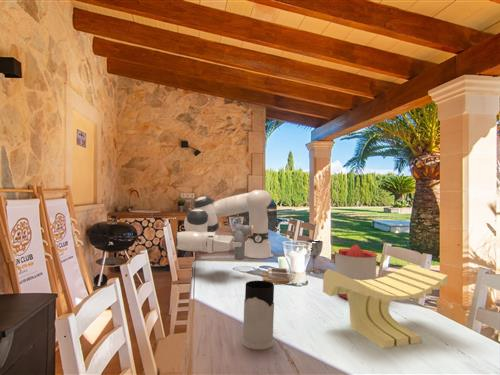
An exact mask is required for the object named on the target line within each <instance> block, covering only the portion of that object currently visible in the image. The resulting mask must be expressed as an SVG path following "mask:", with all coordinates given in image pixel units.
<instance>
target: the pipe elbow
mask: <svg viewBox="0 0 500 375" xmlns="http://www.w3.org/2000/svg"><path fill="white" fill-rule="evenodd" d="M248 235H251V236H253V225H248V224H239V225H238V224H237V226H236V228H235V235H234V237H235V238H234V239H235V242H242V246H241V247H234V260H236V261H244V260H245V257H246V256H245V242H246V236H248Z"/></svg>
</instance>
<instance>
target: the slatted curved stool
mask: <svg viewBox="0 0 500 375" xmlns="http://www.w3.org/2000/svg"><path fill="white" fill-rule="evenodd" d="M448 278H449V277H448V275H447V274H444V273H441V272H439V271H438V272H437V271H433V270H431V269H427V268H423V267H421V266H417V265H414V264H408V265H402V266H401V268H400V269H396V270H394V271H393V272H390V273H387V274H386V275H385V276H382V277H378V278H377V277H376V279H374V280H372V279H370V280H361V281H360V280H355V279H351V278H349V277H346V276H344V275H342V274H340V273H337V272H335V270H333V269H330V268H329V269H326V270H325V271H324V274H323V281H322V282H323V283H322V284H323V285H322V292H323V293H324V294H326V295H328V296H330V297H334V296H337V295H339V294H346V293H347V298H348V299H347V301H348V306H349V322H350V327H351V328H352V329H353V330H355V331H356V332H357V333H359V334H361V335H362V336H363V337H365V338H367V339H368V340H370V341H371V342H373V343H374V344H375V345H377V346H379V347H380V348H381V349H387V348H393V347H401V346H405V345H407V346H408V345H409V344H411V345H414V344H420V343H422V340H421V337H420V335H418V334H417V333H415V332H413V331H412V330H409V329H408V328H407V327H405V326H403V325H401V324H400V323H399V322H397V320H395V319H394V318H393V317H392V315H391V314H390V310H389V307H390V303H391V301H396V300H398V301H403V300H410V299H423V298H424V297H425V296H424V295H430V294H433V293H432V292H433V291H435V290H436V291H437V290H440V288H441V287H440V286H442V287H446V286H448ZM338 293H339V294H338Z"/></svg>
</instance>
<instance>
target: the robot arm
mask: <svg viewBox="0 0 500 375" xmlns="http://www.w3.org/2000/svg"><path fill="white" fill-rule="evenodd" d="M271 202H272V195H271V194H270V193H269V192H268V191H267V190H265V189H254V190H252V191H250V192H245V193H239V194H236V195H232V196H227V197H223V198H220V199H218V200H216V201H215V199H213V198H211V197H209V196H200V197H198V198H197V199H195V200H194V201H193V209H191V210H189V211H188V212H187V214H186V216H185V218H184V221H183V226H184V227H183V228H184V230H185V231H178V232H177V233H176V235H175V247H176V249H177V250H181V251H188V252H199V251H200V252H204V253H209V254H211V253H216V252H229V251H230V250H231V248H235V247H241V246H242V242H235V238H234V236H233V235H228V234H227V235H226V234H225V235H223V234H222V235H219V234H217V233H216V231H218V229H219V227H220V224H219V221H218V217H229V216H233V215H238V214H243V213H247V212H248V216H249V222H248V224H249V225H253V236H251V235H247V239H246V240H245V257H246V258H251V259H269V258H274V254H273V253H272V252H271V251H272V250H271V246H272V244H271V241H270V240H269V217H268V210H267V208H268V207H269V206H270V204H271Z"/></svg>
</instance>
